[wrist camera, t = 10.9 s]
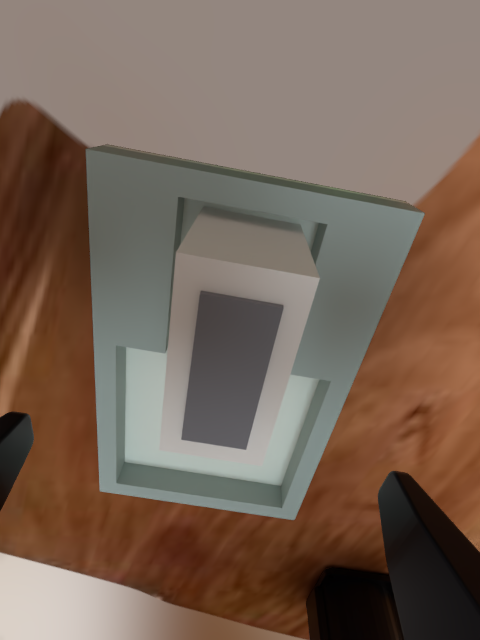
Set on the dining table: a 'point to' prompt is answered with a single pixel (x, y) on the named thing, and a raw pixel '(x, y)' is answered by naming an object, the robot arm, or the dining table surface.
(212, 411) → the socket block
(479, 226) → the dining table surface
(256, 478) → the keyhole tray
